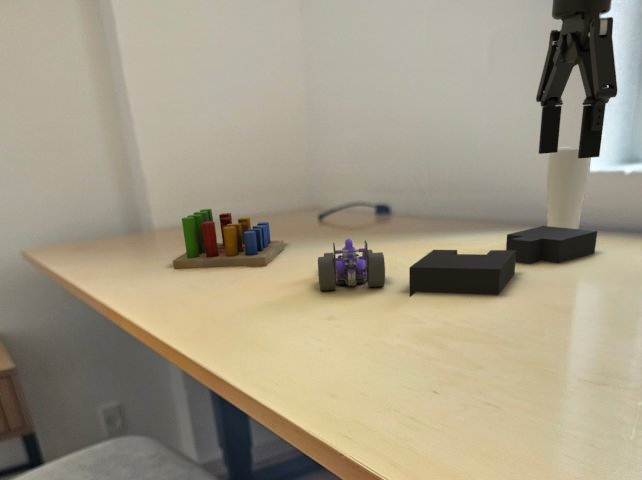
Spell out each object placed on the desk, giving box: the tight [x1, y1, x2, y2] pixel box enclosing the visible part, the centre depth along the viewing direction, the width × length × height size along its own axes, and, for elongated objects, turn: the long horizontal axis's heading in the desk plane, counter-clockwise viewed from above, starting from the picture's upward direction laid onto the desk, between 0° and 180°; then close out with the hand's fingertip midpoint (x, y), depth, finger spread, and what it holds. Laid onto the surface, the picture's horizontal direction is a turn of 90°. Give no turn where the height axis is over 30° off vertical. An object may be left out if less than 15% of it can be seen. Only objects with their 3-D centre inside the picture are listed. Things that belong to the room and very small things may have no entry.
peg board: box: [172, 208, 285, 270], centre depth 123 cm, size 18×17×9 cm
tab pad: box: [505, 225, 598, 265], centre depth 103 cm, size 10×12×4 cm
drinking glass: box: [546, 145, 592, 229], centre depth 115 cm, size 7×7×15 cm
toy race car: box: [317, 238, 386, 292], centre depth 100 cm, size 10×15×6 cm, turn 179°
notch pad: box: [408, 249, 516, 297], centre depth 92 cm, size 12×12×4 cm
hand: (566, 155), depth 97 cm, fingers open, 13 cm apart
